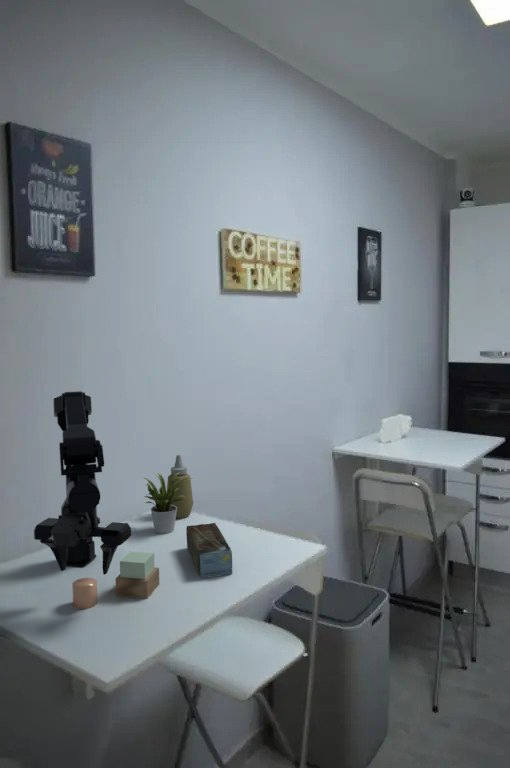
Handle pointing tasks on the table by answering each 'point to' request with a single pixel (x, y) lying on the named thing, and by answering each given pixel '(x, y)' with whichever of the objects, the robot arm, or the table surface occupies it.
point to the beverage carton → (209, 550)
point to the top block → (137, 565)
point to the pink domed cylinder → (84, 593)
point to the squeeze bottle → (181, 489)
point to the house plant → (164, 504)
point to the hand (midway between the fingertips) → (84, 572)
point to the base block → (137, 585)
